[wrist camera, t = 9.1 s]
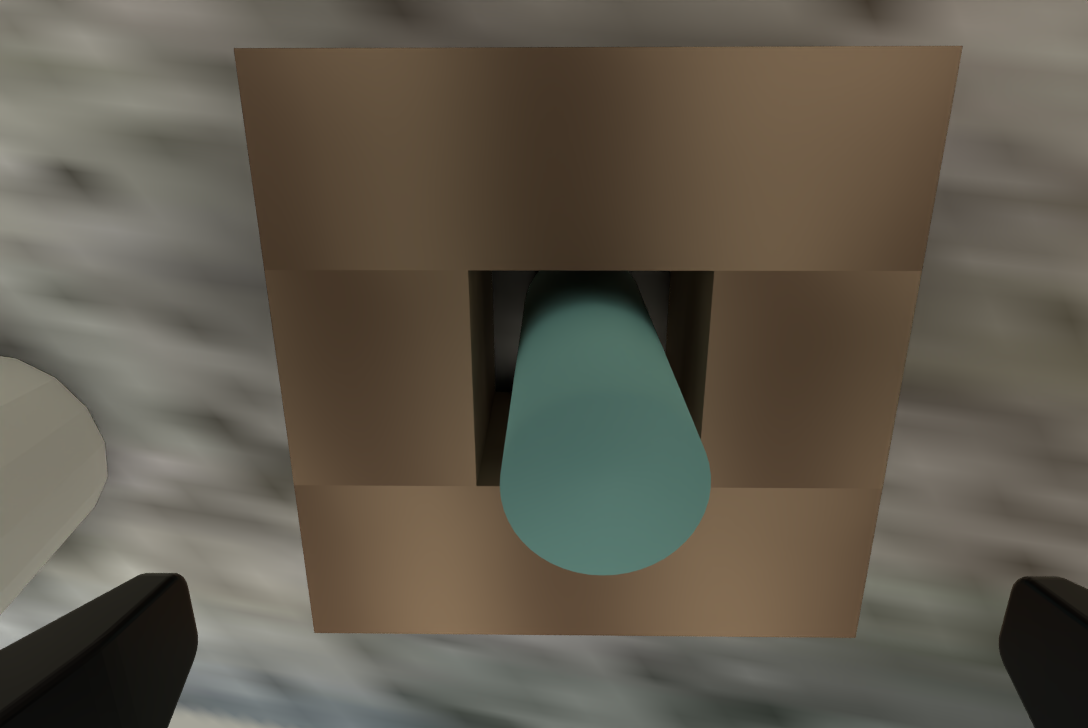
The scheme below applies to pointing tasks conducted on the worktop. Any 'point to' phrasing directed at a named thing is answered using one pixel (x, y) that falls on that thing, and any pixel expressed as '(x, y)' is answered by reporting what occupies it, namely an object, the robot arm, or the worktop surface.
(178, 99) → the worktop surface
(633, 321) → the peg
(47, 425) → the white cup
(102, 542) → the worktop surface
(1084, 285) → the worktop surface
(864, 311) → the socket block
